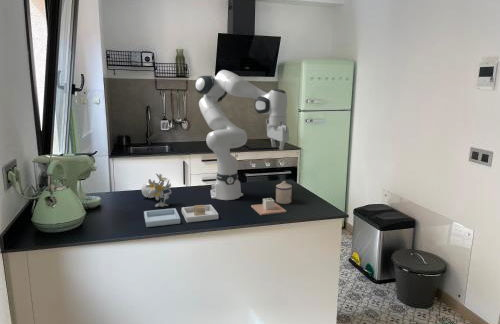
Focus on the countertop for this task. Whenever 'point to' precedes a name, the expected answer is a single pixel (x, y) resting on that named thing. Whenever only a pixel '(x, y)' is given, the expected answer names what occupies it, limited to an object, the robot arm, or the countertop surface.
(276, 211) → the terracotta tile
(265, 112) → the robot arm
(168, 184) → the flower vase
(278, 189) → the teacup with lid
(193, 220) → the grey tray
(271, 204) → the letter cube
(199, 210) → the plain oak block
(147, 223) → the blue grey tray
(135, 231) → the countertop surface
